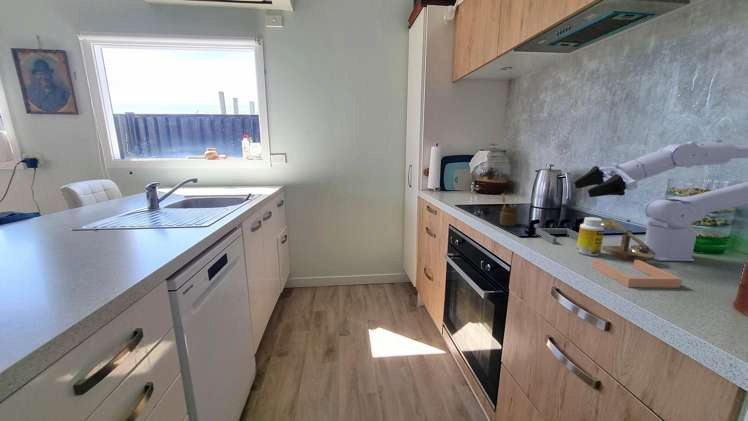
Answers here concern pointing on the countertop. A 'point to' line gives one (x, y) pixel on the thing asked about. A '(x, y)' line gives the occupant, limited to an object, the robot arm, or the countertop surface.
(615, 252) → the stand
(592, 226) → the supplement bottle
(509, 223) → the utensil holder
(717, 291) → the countertop surface
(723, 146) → the robot arm
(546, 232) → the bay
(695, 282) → the countertop surface
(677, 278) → the frame
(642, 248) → the balance beam
